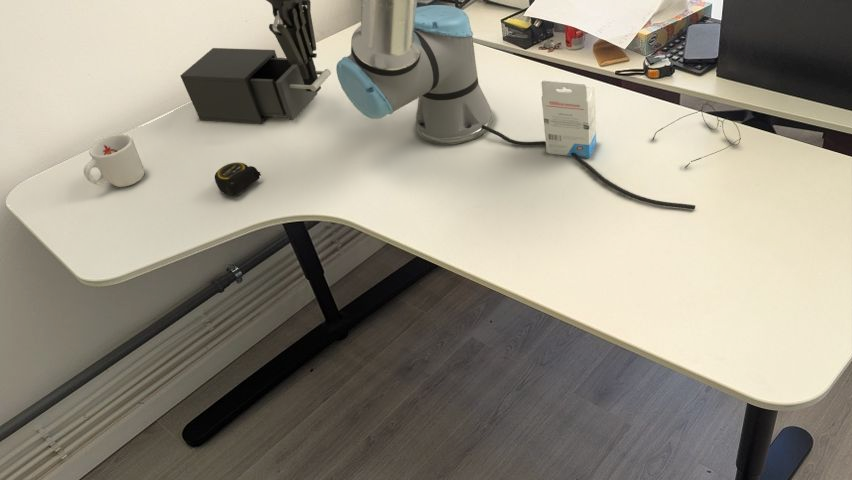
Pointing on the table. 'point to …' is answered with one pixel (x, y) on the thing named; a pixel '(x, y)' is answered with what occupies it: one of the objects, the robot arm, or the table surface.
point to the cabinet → (226, 84)
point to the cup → (115, 161)
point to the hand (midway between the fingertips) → (313, 89)
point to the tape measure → (236, 178)
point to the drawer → (283, 88)
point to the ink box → (569, 118)
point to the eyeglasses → (709, 127)
